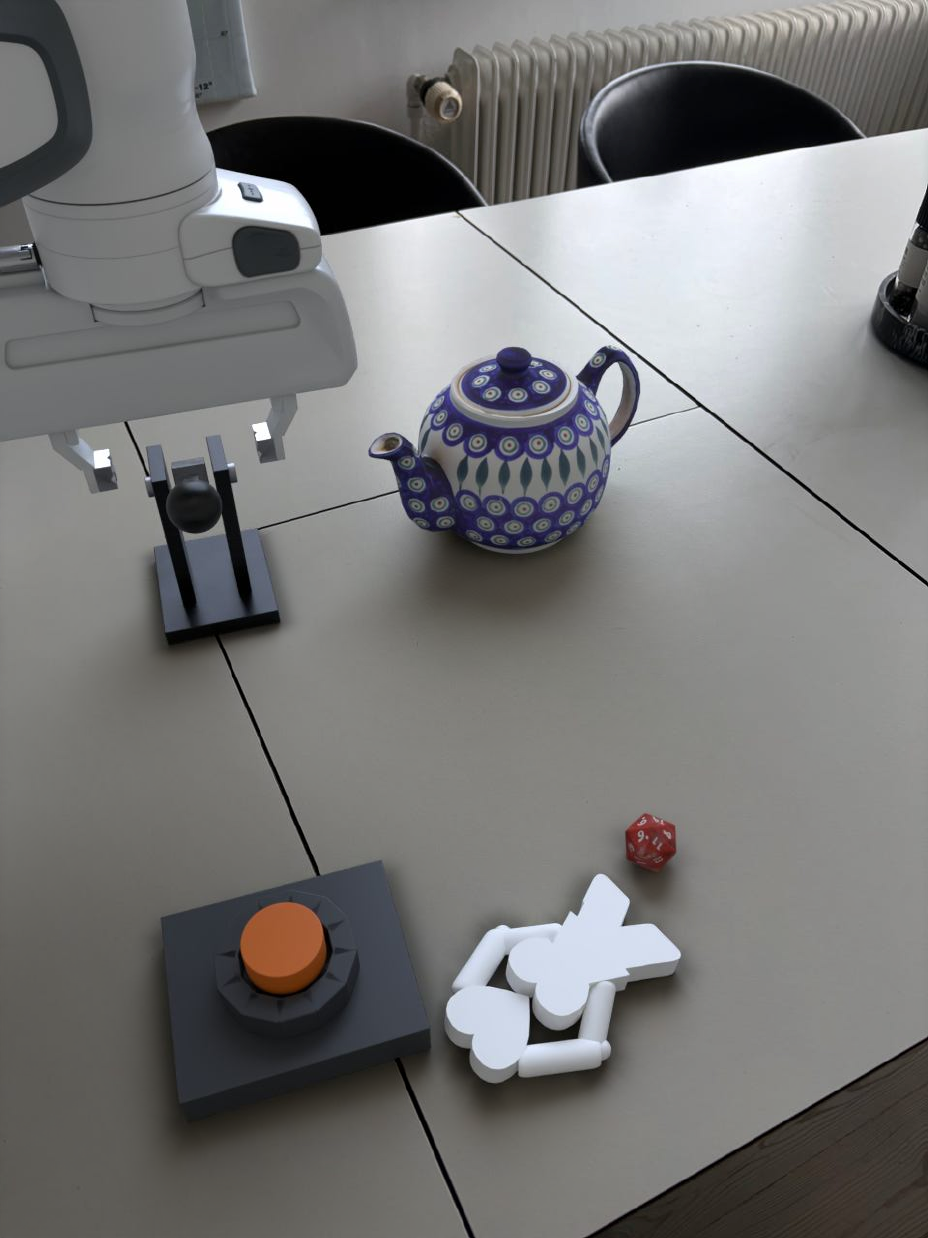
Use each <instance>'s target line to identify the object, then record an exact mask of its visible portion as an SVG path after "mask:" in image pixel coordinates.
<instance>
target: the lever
mask: <svg viewBox="0 0 928 1238" xmlns="http://www.w3.org/2000/svg"><path fill="white" fill-rule="evenodd" d="M170 466H171V469H170V470H171V473H172V478H173V483H174V486H173V487H172V490H171V491H170V493H169V495H168V497H167V502H166V510H167V514H168V517H169V519H170V520H171V522H172V523H173V524H174V525H175V526H176V527H177V528H178V529H180V530H182V532H183V533H187V534H190V535H197V534H203V533H206V532H209V531H210V530H212V529H213V528H214V527H215V526H216V525H217V524H218V523H219V521H220V519H221V518H222V514H221V513H222V501H221V498H220V495H219V494H218V492H217V490H216V487H214V486H213V485H211V484H210V481H209V476H208V470H207V466H206V463H205V458H204V456H202V457H200V456H199V457H196V458H189V459H184V460H176V461H172V462H171V465H170Z"/></svg>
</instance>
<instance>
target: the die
mask: <svg viewBox="0 0 928 1238" xmlns="http://www.w3.org/2000/svg"><path fill="white" fill-rule="evenodd" d="M676 833H677V832H676V824H674V823H671V822H669V821H667V820H665V819H662V818H659V817H657V816H654V815H652V814H650V813H647V812H644V813H642V815H640V817H638V818H637V819H636V820H635V821H634V822H632V824H631V825H630V826H628V827H627V829H625V831H624V836H625V837H624V838H625V854H626V855H625V856H626V860H627V861H628V862H629V863H630V862H631V863H633V864H635V865H637V866H640V867H643V868H645V869H647V870H650V871H652V872H655V873H658V872H660V871H661V870H662V868H664V867H665V865H667V864H668V863H669V861H671V859H672V858H673V857H674V856H675V855H676V854H677V836H676V835H677V834H676Z"/></svg>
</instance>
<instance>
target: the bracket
mask: <svg viewBox="0 0 928 1238" xmlns="http://www.w3.org/2000/svg"><path fill="white" fill-rule="evenodd" d="M205 442H206V446H207V451H208V456H209V460H210V465H211V466H210V467H211V470H212V476H213V480H214V485H215V489H216V491H217V492H218V494H219V495H220V498H221V501H222V513H221V518H222V523H223V528H224V533H223V534H216V535H211V536H207V537H201V538H196V539H195V538H194V539H190V540H185V536H184V531H182V530H180V529H178V528H177V527H176V526H175V525H174V524H173V523H172V522H171V520H170V519H169V517H168V514H167V510H166V502H167V497H168V495H169V493H170V491H171V490H172V489H173V487H172V484H171V483H172V482H171V480H170V475H169V471H168V467H167V463H166V459H165V456H164V455H165V454H164V450H163V447H162V444H153V445H148V446H146V447H145V451H146V454H147V455H146V457H147V463H148V471H149V476H145V477H144V479H143V480H144V485H145V490H146V494H147V496H148V498H154V499H155V503H156V507H157V512H158V515H159V518H160V522H161V527H162V530H163V533H164V534H163V535H164V537H165V541H166V544H162V545H157V546H153V554H154V562H155V570H156V578H157V585H158V592H159V600H160V608H161V615H162V623H163V629H164V630H163V631H164V636H165V638H166V642H167V645H168V646H171V645H175V644H180V643H185V642H190V641H194V640H200V639H205V638H209V637H215V636H220V635H224V634H229V633H234V632H238V631H244V630H248V629H254V628H258V627H262V626H263V627H264V626H269V625H273V624H278V623H281V616H280V610H279V607H278V602H277V599H276V595H275V590H274V587H273V584H272V583H273V582H272V579H271V575H270V572H269V567H268V564H267V560H266V555H265V551H264V548H263V544H262V541H261V537H260V532H259V528H257V527H254V528H250V529H245V530H241V527H240V522H239V516H238V512H237V511H238V510H237V506H236V502H235V496H234V490H233V487H232V484H237V483H238V482H239V481H238V477H237V476H238V475H237V471H236V470H237V469H236V466H235V462H234V461H233V462H232V461H231V462H228V461H227V458H226V454H225V449H224V446H223V445H224V444H223V441H222V437H221V434H215V435H209V436H205Z"/></svg>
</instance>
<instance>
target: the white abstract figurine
mask: <svg viewBox="0 0 928 1238" xmlns="http://www.w3.org/2000/svg"><path fill="white" fill-rule="evenodd" d="M630 902H631V901H630V899H629V898H628V896H627V895H626V894H625V893H624V892H623V891H622V890H621V889H620V888H619V887H618V886H617V885H616V884H615V882H613V881H612V880H611V879H610V878H609V877H608V876H607V875H606V874H603V873H598V874H596V875H595V877H594V878H593V879H592V881H591V883H590V885H589V887H588V888H587V891H586V893H585V895H584V897H583V899H582V902H581V905H580V909H579V912H578V914H577V915H576V914H575V913H574V912H573V911H571V910H570V911H569V912H568V915H567V916H566V919H565V920H564V922H563V924H560V923H558V922H557V923H555V922H554V923H553V922H552V923H545V924H537V925H530V926H522V927H514V928H510V927H509V926H507V925H505V924H501V925H500V924H499V925H498V926H496V927H495V928H493V929H489V930H488V931H487V932H486V933H485V935H483V937H482V939H481V940H480V941H479V943H478V945H477V946H476V948H475V949H474V951H473V952H472V953H471V955H470V957H469V958H468V959H467V961H466V963H465V965H463V967H462V969H461V970H460V972H459V974H458V975H457V976H456V978H455V980H454V981H453V983H452V985H451V991H452V993H453V995H452V996H451V997H450V998H449V1000H448V1001H447V1003H446V1008H445V1013H444V1021H443V1026H444V1031H445V1033H446V1035H447V1037H448V1038H449V1040H450V1041H451V1042H452V1043H453V1044H455V1045H456V1046H458V1047H460V1048H463V1049H469V1050H470V1051H469V1056H468V1057H469V1064H470V1066H471V1069H472V1071H473V1072H474V1073H475V1074H476V1075H477V1076H478V1077H479V1078H480V1079H481V1080H483V1081H485V1082H486V1083H491V1084H498V1083H503V1082H504V1081H506V1080H508V1079H510V1078H511V1077H513V1076H514V1075H515V1074H516V1073H517V1072H518V1076H519V1077H520V1078H534V1077H540V1076H548V1075H554V1074H555V1075H557V1074H564V1073H570V1072H577V1071H586V1070H592V1069H596V1068H599V1067H600V1066H602V1061H606V1060H607V1059H609V1058H610V1056H611V1053H612V1048H611V1047H612V1046H611V1044H610V1042H609V1041H608V1040H607V1038H608V1033H609V1027H610V1022H611V1017H612V1012H613V1007H614V1001H615V996H616V993H617V992H621V991H625V989H626V987H627V984H628V983H630V982H631V983H632V982H636V981H641V980H646V979H654V978H662V977H668V976H670V975H673V974H674V972H675V971H676V969H677V966H678V964H679V961H680V959H681V956H682V954H681V953H682V952H681V951H680V949H678V947H677V946H676V945H675V944H674V943H673V942H672V941H671V940H670V939H669V938H668V937H667V936H666V935H665V934H664V933H663V932H662V931H661V930H660V929H659V928H658V927H657V926H656V925H655V924H653V923H641V924H631V925H624V926H623V924H624V922H625V920H626V916H627V913H628V909H629V906H630ZM505 956H508V959H507V962H506V963H507V965H506V969H505V977H506V981H507V983H508V984H509V986H510V988H511V989H512V990H513V991H511V990H508V989H503V988H499V987H493V986H488V983H489V982H490V980H491V978H492V977H493V975H494V974H495V972H496V971H497V969H498V967H499V965H500V964H501V962H502V961H503V959H504V958H505ZM531 998H532V1002H531V1007H532V1013H533V1014H534V1016H535V1018H536V1019H537V1020H538V1022H539V1023H540V1024H542V1025H543V1026H544V1027H545V1028H548V1029H550V1030H553V1031H564V1030H566V1029H568V1028H570V1027H572V1026H573V1025H575V1024H576V1023H577V1022H578V1021H579V1020H580V1019H581V1021H580V1025H579V1031H578V1036H577V1038H574V1039H566V1040H559V1041H550V1042H543V1043H535V1044H528V1041H529V1037H530V1021H531V1019H530V999H531Z"/></svg>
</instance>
